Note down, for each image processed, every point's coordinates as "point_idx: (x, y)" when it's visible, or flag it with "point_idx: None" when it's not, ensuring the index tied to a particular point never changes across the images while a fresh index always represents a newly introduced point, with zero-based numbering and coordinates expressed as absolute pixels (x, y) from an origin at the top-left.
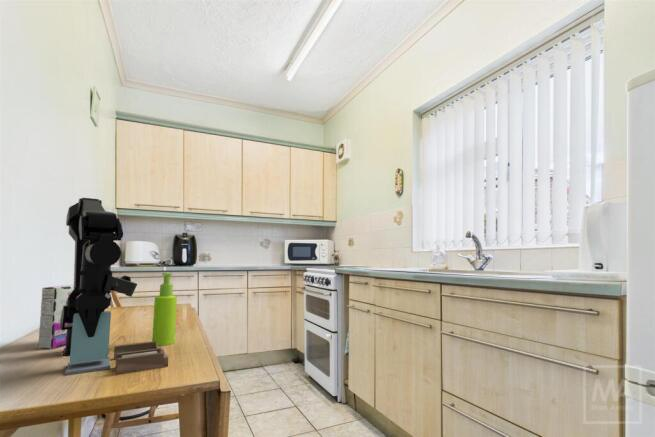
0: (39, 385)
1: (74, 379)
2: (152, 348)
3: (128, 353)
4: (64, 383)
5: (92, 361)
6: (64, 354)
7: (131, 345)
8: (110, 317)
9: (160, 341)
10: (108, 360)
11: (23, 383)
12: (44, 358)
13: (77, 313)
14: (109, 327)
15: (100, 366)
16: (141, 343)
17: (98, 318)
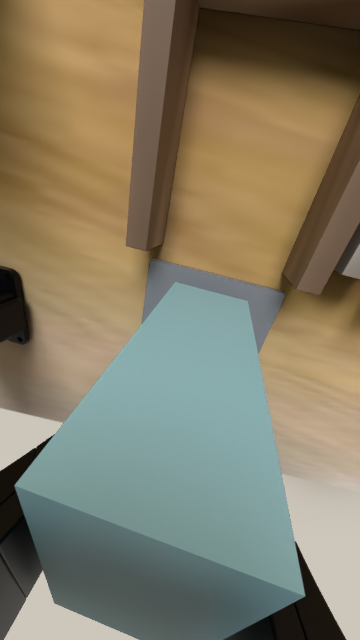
0: (274, 435)
1: (300, 386)
2: (190, 5)
3: (348, 239)
4: (313, 408)
5: None
6: (27, 339)
7: (157, 161)
8: (282, 505)
9: None
10: (197, 276)
11: None
12: (34, 370)
13: (64, 604)
14: (264, 402)
15: (259, 319)
16: (159, 82)
17: (325, 605)
